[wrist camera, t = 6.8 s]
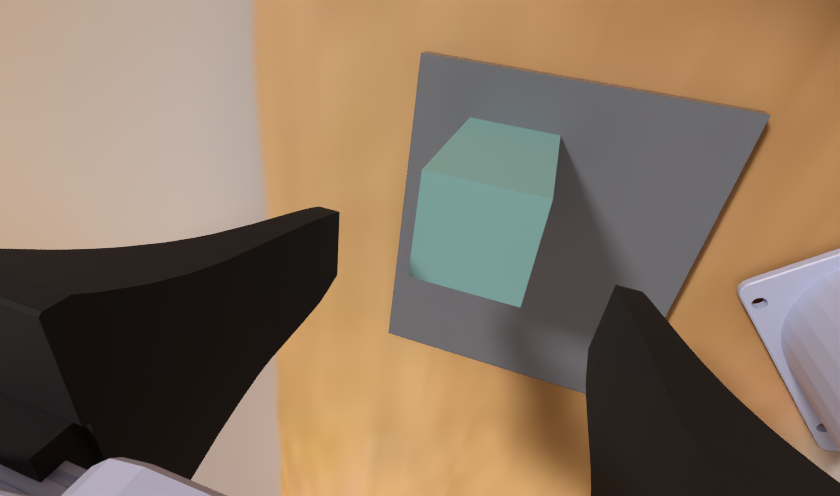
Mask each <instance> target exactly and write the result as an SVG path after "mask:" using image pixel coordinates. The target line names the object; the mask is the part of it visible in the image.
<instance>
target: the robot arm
mask: <svg viewBox="0 0 840 496" xmlns="http://www.w3.org/2000/svg"><path fill="white" fill-rule="evenodd" d="M338 236H339V212H337V211H334V210H330V209H326V208H322V207H314V208H309V209H304V210H300V211H297V212H293V213H289V214H286V215H283V216H279V217H276V218H272V219H269V220H265V221H262V222H259V223H255V224H252V225H247V226H243V227H239V228H235V229H232V230H227V231H223V232H219V233H216V234H211V235H206V236H201V237H196V238H190V239H184V240H178V241H172V242H166V243H157V244H147V245H137V246H129V247H117V248H100V249H75V250H74V249H73V250H35V249H34V250H33V249H0V496H226V495H224V494H221V493H219V492H217V491H214V490H212V489H210V488H208V487H205V486H202V485H200V484H198V483H196V482H193V481H191V478H192V477H193V475H194V473H195V472H196V470H197V469H198V467H199V465H200V464H201V462H202V460H203V459H204V457H205V455H206V454H207V452H208V451H209V449H210V447H211V446H212V444H213V442H214V441H215V439H216V437H217V436H218V434H219V433H220V431H221V429H222V428H223V427H224V425H225V423H226V422H227V420H228V419H229V417H230V416H231V414H232V413H233V411H234V410H235V408H236V407H237V405H238V403H239V402H240V401H241V399H242V398H243V396H244V395H245V393H246V392H247V390H248V389H249V387H250V386H251V385H252V383H253V382H254V380H255V379H256V377H257V376H258V375H259V373H260V372H261V371H262V369H263V368H264V367H265V365H266V364H267V363H268V362H269V361H270V359H271V358H272V357H273V356H274V355H275V353H276V352H277V351H278V350H279V349H280V348H281V347H282V345H283V344H284V343H285V342H286V341H287V340H288V339H289V337H290V336H291V335H292V334H293V333H294V332H295V331H296V329H297V328H298V327H299V326H300V325H301V324H302V323H303V321H304V320H305V319H306V318H307V317H308V316H309V314H310V313H311V312H312V311H313V310H314V309H315V307H316V306H317V305H318V304H319V303H320V301H321V300H322V298H323V297H324V295H325V294H326V292H327V291H328V289H329V287H330V286H331V284H332V282H333V281H334V279H335V277H336V276H337V264H338ZM737 293H738V295H739V297H740V299H741V301H742V303H743V305H744V307H745V309H746V310H747V312H748V314H749V316H750V318H751V320H752V322H753V324H754V326H755V327H756V329H757V331H758V333H759V335H760V337H761V339H762V341H763V343H764V344H765V346H766V348H767V350H768V352H769V354H770V356H771V358H772V360H773V361H774V363H775V365H776V367H777V369H778V371H779V373H780V375H781V377H782V378H783V380H784V382H785V384H786V386H787V388H788V390H789V392H790V394H791V395H792V397H793V399H794V401H795V403H796V405H797V407H798V409H799V410H800V412H801V414H802V416H803V418H804V420H805V422H806V424H807V426H808V427H809V429H810V431H811V433H812V435H813V437H814V439H815V441H816V443H817V444H818V446H819V447H820V448H822V449H824V450H827V451H839V452H840V248H839V249H836V250H833V251H830V252H827V253H824V254H821V255H818V256H815V257H812V258H809V259H806V260H803V261H800V262H797V263H794V264H791V265H788V266H785V267H782V268H779V269H776V270H773V271H770V272H767V273H764V274H761V275H758V276H755V277H752V278H749V279H746V280H744V281H742V282H741V283H740V284H739V285H738V287H737ZM757 298H764V300H763V301H762V302H760V303H756V304H754V303H752V302H753V300H755V299H757ZM586 402H587V418H588V433H589V448H590V463H591V496H840V483H839V482H838V481H836V480H835V479H834V478H832V477H831V476H830V475H828V474H827V473H826V472H824V471H823V470H822V469H820V468H819V467H818V466H816V465H815V464H814V463H813V462H811V461H810V460H809V459H808V458H806V457H805V456H804V455H803V454H801V453H800V452H799V451H798V450H796V449H795V448H794V447H793V446H791V445H790V444H789V443H787V442H786V441H785V440H784V439H783V438H781V437H780V436H779V435H778V434H777V433H775V432H774V431H773V430H772V429H771V428H770V427H768V426H767V425H766V424H765V423H764V422H763V421H762V420H761V419H759V418H758V417H757V416H756V415H755V414H754V413H753V412H752V411H751V410H750V409H748V408H747V407H746V406H745V405H744V404H743V403H742V402H741V401H740V400H739V399H738V398H737V397H736V396H734V395H733V394H732V393H731V392H730V391H729V390H728V389H727V388H726V387H725V386H724V385H723V384H722V383H721V381H720V380H719V379H718V378H717V377H716V376H715V375H714V374H713V373H712V372H711V371H710V370H709V369H708V368H707V367H706V366H705V365H704V364H703V362H702V361H701V360H700V359H699V358H698V357H697V356H696V355H695V353H694V352H693V351H692V350H691V349H690V348H689V347H688V345H687V344H686V343H685V342H684V341H683V339H682V338H681V337H680V336H679V335H678V334H677V332H676V331H675V330H674V329H673V327H672V326H671V325H670V324H669V322H668V321H667V320H666V319H665V318H664V316H663V315H662V314H661V313H660V311H659V310H658V309H657V308H656V306H655V305H654V304H653V303H652V302H651V300H650V299H649V298H648V297H647V296H646V295H645V294H644V293H643V292H642V291H638V290H634V289H631V288H627V287H623V286H619V285H615V287H614V290H613V292H612V294H611V297H610V299H609V301H608V304H607V306H606V308H605V311H604V313H603V316H602V318H601V320H600V323H599V325H598V327H597V330H596V332H595V334H594V337H593V339H592V341H591V344H590V346H589V348H588V358H587V370H586ZM822 423H823V425H819V424H822Z"/></svg>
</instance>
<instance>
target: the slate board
mask: <svg viewBox="0 0 840 496" xmlns="http://www.w3.org/2000/svg"><path fill="white" fill-rule="evenodd" d="M470 117H471V118H476V119H481V120H486V121H491V122H496V123H501V124H506V125H511V126H516V127H521V128H526V129H531V130H536V131H541V132H546V133H551V134H556V135H561V136H560V144H559V153H558V161H557V169H556V178H555V186H554V195H553V201H552V204H551V208H550V211H549V214H548V218H547V221H546V224H545V228H544V231H543V234H542V238H541V241H540V244H539V248H538V251H537V254H536V258H535V261H534V264H533V268H532V271H531V274H530V278H529V281H528V284H527V288H526V291H525V294H524V298H523V301H522V304H521V308H520V307H516V306H513V305H509V304H505V303H502V302H498V301H495V300H491V299H487V298H484V297H480V296H477V295H473V294H470V293H466V292H462V291H459V290H455V289H452V288H448V287H444V286H441V285H437V284H434V283H430V282H426V281H423V280H419V279H416V278H412V277H408V272H409V265H410V257H411V249H412V242H413V234H414V226H415V219H416V211H417V203H418V196H419V188H420V180H421V173H422V169H423V168H424V167H425V166H426V165H427V164H428V162H429V161H430V160H431V159H432V158H433V157H434V156H435V155H436V154H437V153H438V152H439V150H440V149H441V148H442V147H443V146H444V145H445V144H446V143H447V142H448V141H449V140H450V139H451V137H452V136H453V135H454V134H455V133H456V132H457V131H458V130H459V129H460V128H461V127H462V126H463V124H464V123H465V122H466V121H467V120H468V119H469V118H470ZM769 117H770V114H768V113H766V112H764V111H759V110H754V109H748V108H743V107H737V106H731V105H726V104H720V103H714V102H709V101H703V100H697V99H692V98H686V97H680V96H675V95H669V94H663V93H658V92H652V91H647V90H641V89H635V88H630V87H624V86H618V85H613V84H607V83H601V82H596V81H590V80H584V79H579V78H573V77H567V76H562V75H556V74H551V73H545V72H539V71H534V70H528V69H522V68H517V67H511V66H505V65H500V64H494V63H488V62H483V61H477V60H471V59H466V58H460V57H455V56H449V55H443V54H438V53H432V52H426V51H425V52H422V53H421V59H420V67H419V76H418V85H417V93H416V102H415V111H414V119H413V128H412V136H411V145H410V154H409V162H408V171H407V180H406V188H405V197H404V205H403V214H402V223H401V231H400V240H399V248H398V257H397V266H396V274H395V283H394V292H393V300H392V309H391V317H390V326H389V333H391V334H394V335H397V336H400V337H404V338H407V339H410V340H413V341H417V342H420V343H423V344H426V345H430V346H433V347H436V348H439V349H443V350H446V351H449V352H452V353H456V354H459V355H462V356H465V357H468V358H472V359H475V360H478V361H481V362H485V363H488V364H491V365H494V366H498V367H501V368H504V369H507V370H511V371H514V372H517V373H520V374H523V375H527V376H530V377H533V378H536V379H540V380H543V381H546V382H549V383H553V384H556V385H559V386H562V387H566V388H569V389H572V390H575V391H578V392H582V393H585V394H586V370H587V358H588V348H589V346H590V344H591V341H592V339H593V337H594V334H595V332H596V330H597V327H598V325H599V323H600V320H601V318H602V316H603V313H604V311H605V308H606V306H607V304H608V301H609V299H610V297H611V294H612V292H613V290H614V287H615V285H619V286H623V287H627V288H631V289H634V290H638V291H642V292H643V293H644V294H645V295H646V296H647V297H648V298H649V299H650V300H651V302H652V303H653V304H654V305H655V306H656V308H657V309H658V310H659V311H660V313H661V314H662V315H663V316H664V318H665V317H666V315H667V313H668V311H669V309H670V307H671V305H672V303H673V302H674V300H675V298H676V296H677V294H678V292H679V290H680V288H681V286H682V284H683V282H684V280H685V278H686V277H687V275H688V273H689V271H690V269H691V267H692V265H693V263H694V261H695V259H696V257H697V255H698V254H699V252H700V250H701V248H702V246H703V244H704V242H705V240H706V238H707V236H708V234H709V232H710V231H711V229H712V227H713V225H714V223H715V221H716V219H717V217H718V215H719V213H720V211H721V209H722V207H723V206H724V204H725V202H726V200H727V198H728V196H729V194H730V192H731V190H732V188H733V186H734V184H735V183H736V181H737V179H738V177H739V175H740V173H741V171H742V169H743V167H744V165H745V163H746V161H747V159H748V158H749V156H750V154H751V152H752V150H753V148H754V146H755V144H756V142H757V140H758V138H759V136H760V135H761V133H762V131H763V129H764V127H765V125H766V123H767V121H768V119H769Z"/></svg>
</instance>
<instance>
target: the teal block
mask: <svg viewBox="0 0 840 496" xmlns="http://www.w3.org/2000/svg"><path fill="white" fill-rule="evenodd" d="M560 136H561V135H556V134H551V133H546V132H541V131H536V130H531V129H526V128H521V127H516V126H511V125H506V124H501V123H496V122H491V121H486V120H481V119H476V118H471V117H470V118H469V119H468V120H467V121H466V122H465V123H464V124H463V126H462V127H461V128H460V129H459V130H458V131H457V132H456V133H455V134H454V135H453V136H452V137H451V139H450V140H449V141H448V142H447V143H446V144H445V145H444V146H443V147H442V148H441V149H440V150H439V152H438V153H437V154H436V155H435V156H434V157H433V158H432V159H431V160H430V161H429V162H428V164H427V165H426V166H425V167H424V168H423V169H422V173H421V180H420V188H419V196H418V203H417V211H416V219H415V226H414V234H413V242H412V249H411V257H410V265H409V272H408V277H412V278H416V279H419V280H423V281H426V282H430V283H434V284H437V285H441V286H444V287H448V288H452V289H455V290H459V291H462V292H466V293H470V294H473V295H477V296H480V297H484V298H487V299H491V300H495V301H498V302H502V303H505V304H509V305H513V306H516V307H520V308H521V304H522V301H523V298H524V294H525V291H526V288H527V284H528V281H529V278H530V274H531V271H532V268H533V264H534V261H535V258H536V254H537V251H538V248H539V244H540V241H541V238H542V234H543V231H544V228H545V224H546V221H547V218H548V214H549V211H550V208H551V204H552V201H553V195H554V186H555V178H556V169H557V161H558V153H559V144H560Z"/></svg>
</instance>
